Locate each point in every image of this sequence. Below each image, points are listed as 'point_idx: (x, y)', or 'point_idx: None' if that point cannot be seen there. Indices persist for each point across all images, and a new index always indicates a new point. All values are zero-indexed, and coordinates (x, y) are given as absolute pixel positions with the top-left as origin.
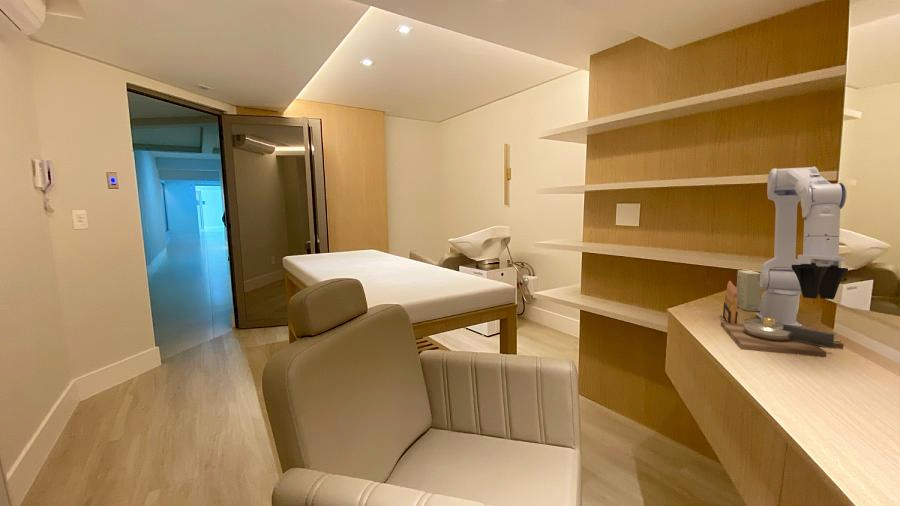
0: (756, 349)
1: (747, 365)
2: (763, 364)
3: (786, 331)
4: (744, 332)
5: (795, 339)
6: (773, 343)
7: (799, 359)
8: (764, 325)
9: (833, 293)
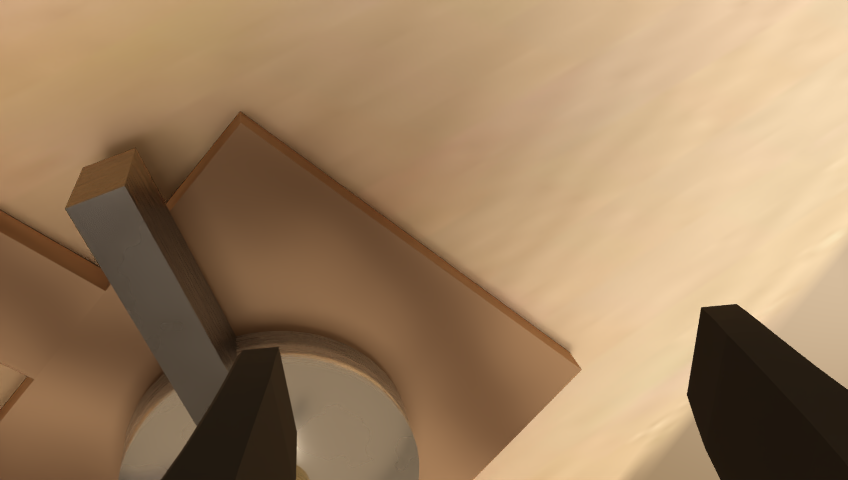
0: (519, 318)
1: (780, 182)
2: (699, 164)
3: (288, 380)
4: None
5: (229, 324)
6: (401, 329)
7: (440, 146)
8: None
9: (264, 399)
